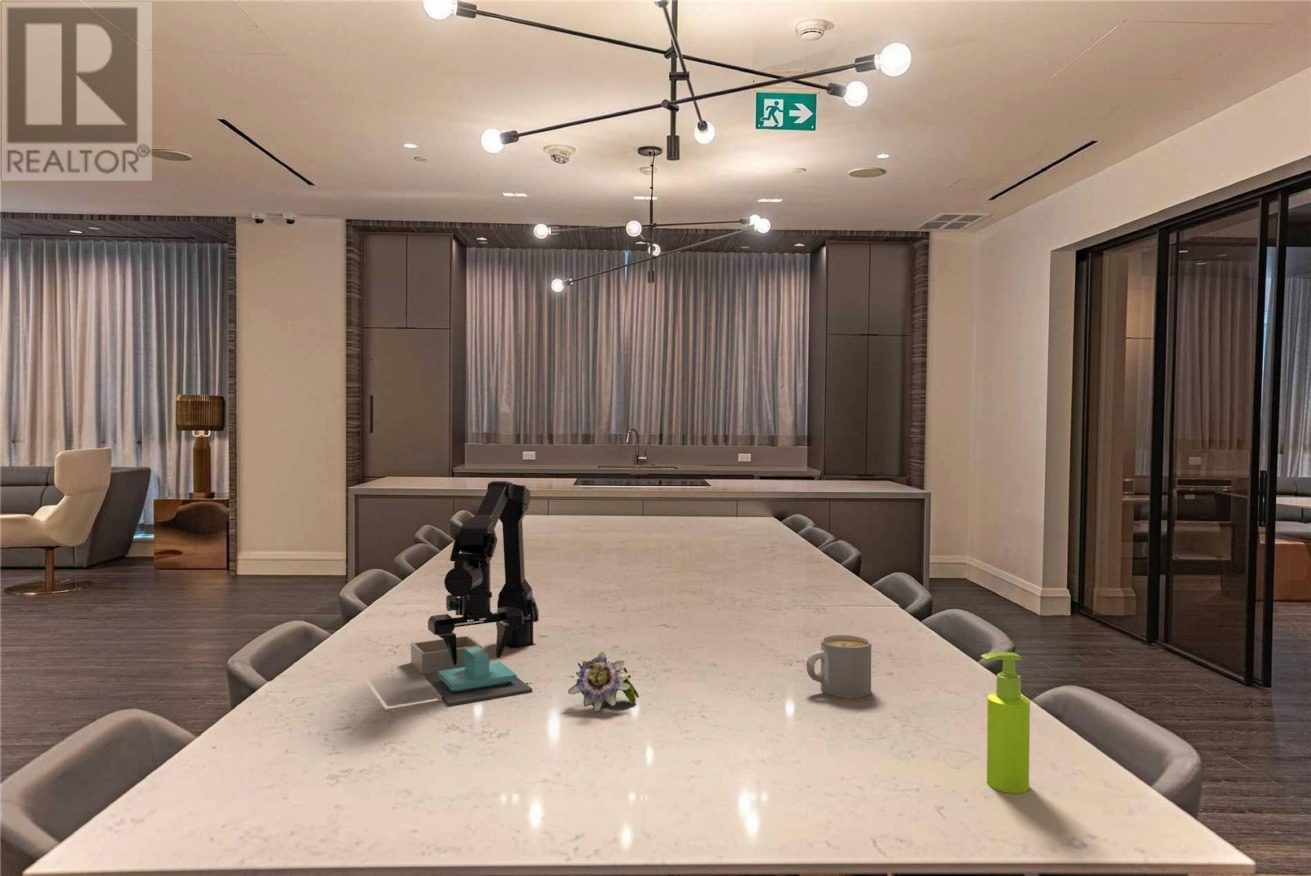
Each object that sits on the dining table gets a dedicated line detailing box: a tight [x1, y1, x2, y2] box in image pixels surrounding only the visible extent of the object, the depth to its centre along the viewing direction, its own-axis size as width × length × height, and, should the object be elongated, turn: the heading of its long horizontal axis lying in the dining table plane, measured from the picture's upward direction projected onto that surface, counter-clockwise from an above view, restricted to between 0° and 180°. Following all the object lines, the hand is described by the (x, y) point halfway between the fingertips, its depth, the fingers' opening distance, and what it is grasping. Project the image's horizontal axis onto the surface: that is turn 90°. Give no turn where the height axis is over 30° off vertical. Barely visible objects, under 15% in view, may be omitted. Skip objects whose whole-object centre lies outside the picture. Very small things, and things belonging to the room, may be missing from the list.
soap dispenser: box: [980, 651, 1031, 794], centre depth 127 cm, size 6×7×20 cm
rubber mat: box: [423, 673, 533, 707], centre depth 174 cm, size 17×19×1 cm
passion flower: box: [567, 650, 640, 713], centre depth 163 cm, size 11×11×12 cm
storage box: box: [410, 635, 482, 676], centre depth 187 cm, size 13×10×5 cm
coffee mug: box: [806, 634, 872, 699], centre depth 171 cm, size 13×10×10 cm
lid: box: [437, 647, 518, 692], centre depth 174 cm, size 13×10×6 cm
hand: (476, 661), depth 174 cm, fingers open, 9 cm apart
